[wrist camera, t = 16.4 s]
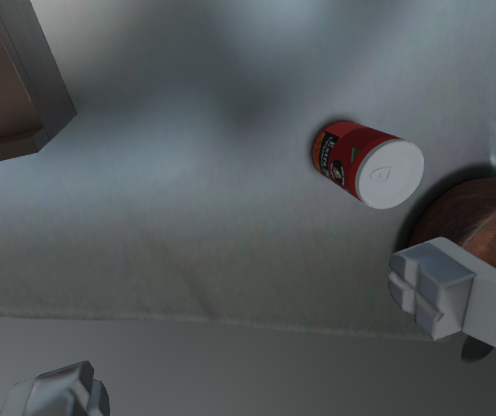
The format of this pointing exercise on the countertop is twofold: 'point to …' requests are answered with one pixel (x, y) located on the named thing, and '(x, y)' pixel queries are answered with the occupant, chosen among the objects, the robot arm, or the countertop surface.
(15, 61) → the shelf
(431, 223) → the wooden bowl
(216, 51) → the countertop surface
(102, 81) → the countertop surface
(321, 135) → the canned food
